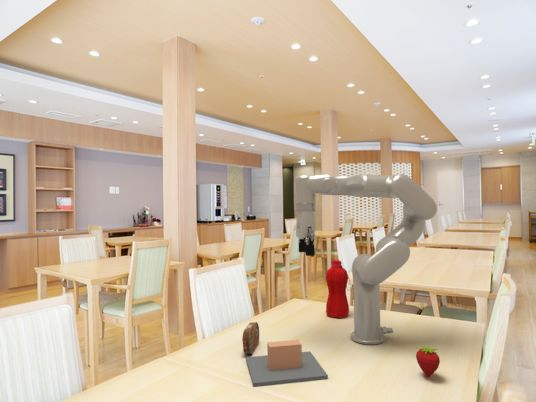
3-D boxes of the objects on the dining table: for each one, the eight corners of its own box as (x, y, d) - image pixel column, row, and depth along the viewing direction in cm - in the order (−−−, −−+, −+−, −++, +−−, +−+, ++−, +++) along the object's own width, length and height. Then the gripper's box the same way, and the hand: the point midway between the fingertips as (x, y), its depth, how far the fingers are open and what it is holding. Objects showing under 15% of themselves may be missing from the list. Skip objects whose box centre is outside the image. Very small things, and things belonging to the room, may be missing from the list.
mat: (310, 354, 127) (310, 351, 127) (327, 378, 110) (327, 375, 110) (245, 360, 123) (245, 357, 123) (253, 386, 106) (253, 383, 106)
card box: (267, 364, 118) (267, 342, 118) (298, 361, 119) (298, 339, 119) (270, 370, 114) (269, 347, 114) (301, 367, 115) (301, 344, 115)
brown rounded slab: (250, 358, 125) (249, 333, 125) (241, 357, 126) (240, 332, 126) (260, 341, 140) (259, 319, 140) (252, 341, 141) (251, 318, 141)
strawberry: (428, 369, 114) (428, 337, 114) (445, 381, 107) (444, 346, 107) (411, 372, 113) (410, 339, 113) (427, 384, 106) (426, 348, 106)
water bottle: (347, 320, 162) (346, 262, 162) (323, 316, 168) (322, 261, 168) (354, 314, 170) (353, 259, 170) (332, 311, 176) (331, 258, 176)
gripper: (290, 208, 149) (291, 251, 149) (302, 208, 132) (302, 257, 132) (308, 207, 150) (309, 250, 150) (322, 208, 133) (323, 256, 133)
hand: (306, 253), depth 141 cm, fingers open, 9 cm apart
